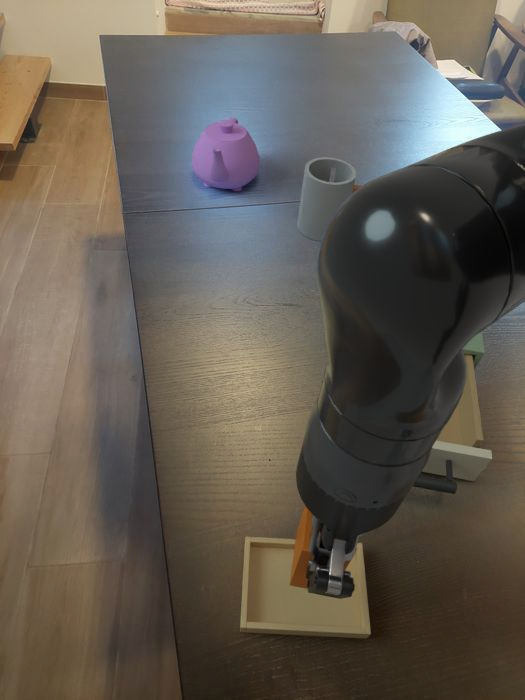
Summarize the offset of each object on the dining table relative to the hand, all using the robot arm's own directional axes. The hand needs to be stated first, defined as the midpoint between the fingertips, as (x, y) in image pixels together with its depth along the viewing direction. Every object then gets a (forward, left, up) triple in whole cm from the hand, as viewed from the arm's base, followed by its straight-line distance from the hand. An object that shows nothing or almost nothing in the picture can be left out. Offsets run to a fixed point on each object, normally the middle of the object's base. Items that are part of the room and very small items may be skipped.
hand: (321, 544), depth 46 cm
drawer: (-4, -26, -12) cm, 29 cm away
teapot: (+51, -64, -13) cm, 83 cm away
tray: (0, 0, -13) cm, 13 cm away
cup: (+27, -61, -13) cm, 68 cm away
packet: (0, 0, -5) cm, 5 cm away
